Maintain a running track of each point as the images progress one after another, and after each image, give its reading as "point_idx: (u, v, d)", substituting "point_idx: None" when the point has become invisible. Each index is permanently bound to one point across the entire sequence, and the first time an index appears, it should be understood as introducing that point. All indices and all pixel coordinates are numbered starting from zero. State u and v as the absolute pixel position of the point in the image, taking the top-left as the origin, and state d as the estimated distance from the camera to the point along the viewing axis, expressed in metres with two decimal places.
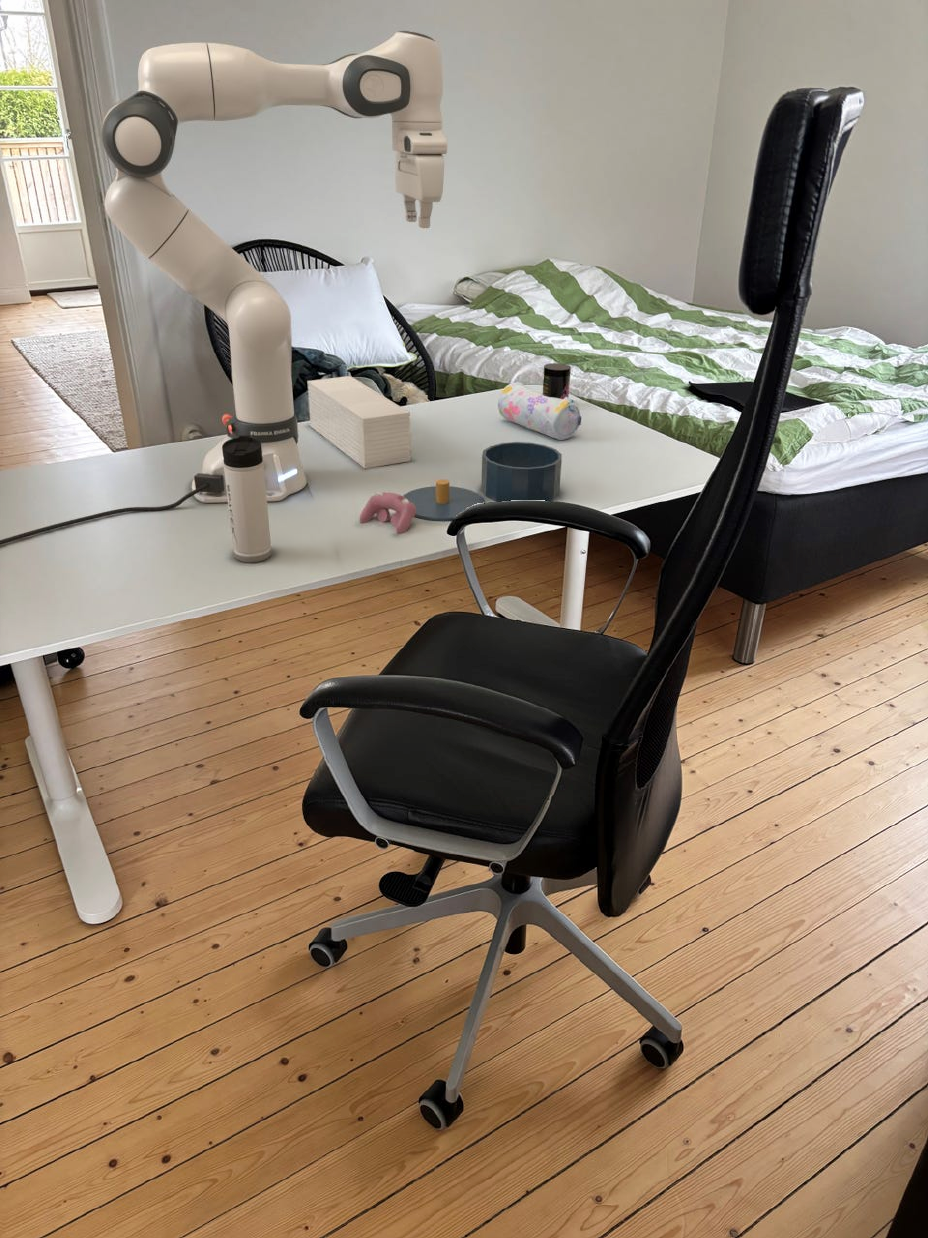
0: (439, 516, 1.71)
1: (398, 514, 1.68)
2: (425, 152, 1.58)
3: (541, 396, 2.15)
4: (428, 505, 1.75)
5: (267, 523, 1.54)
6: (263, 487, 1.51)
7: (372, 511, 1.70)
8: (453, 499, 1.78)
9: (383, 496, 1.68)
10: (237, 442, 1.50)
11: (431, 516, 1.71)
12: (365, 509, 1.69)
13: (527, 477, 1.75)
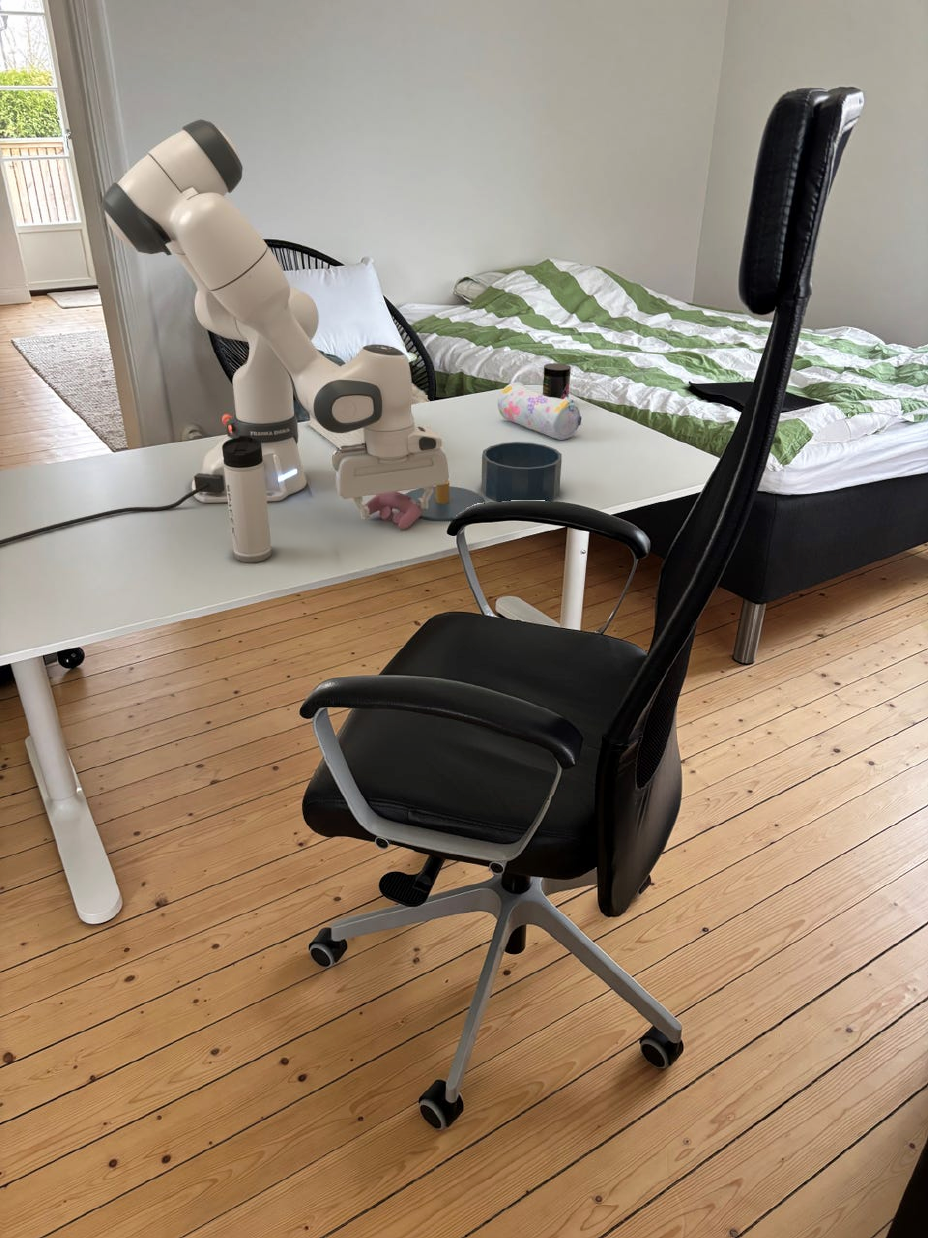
0: (439, 516, 1.71)
1: (402, 513, 1.69)
2: None
3: (541, 396, 2.15)
4: (428, 505, 1.75)
5: (267, 523, 1.54)
6: (263, 487, 1.51)
7: (376, 506, 1.70)
8: (453, 499, 1.78)
9: (392, 493, 1.69)
10: (237, 442, 1.50)
11: (431, 516, 1.71)
12: (370, 501, 1.69)
13: (527, 477, 1.75)
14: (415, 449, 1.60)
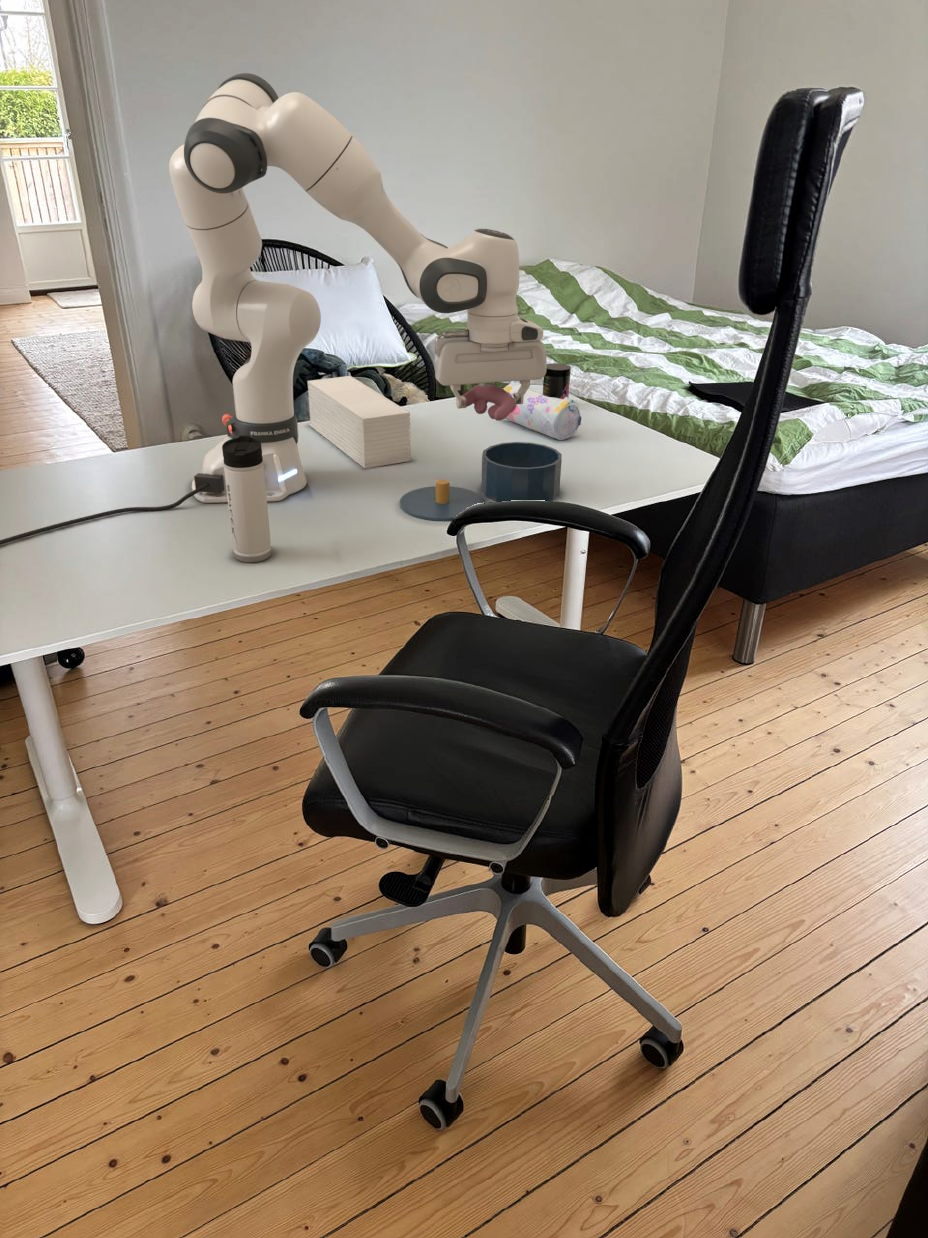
0: (439, 516, 1.71)
1: (497, 406, 1.70)
2: None
3: (541, 396, 2.15)
4: (428, 505, 1.75)
5: (267, 523, 1.54)
6: (263, 487, 1.51)
7: (472, 398, 1.72)
8: (453, 499, 1.78)
9: (488, 386, 1.71)
10: (237, 442, 1.50)
11: (431, 516, 1.71)
12: (466, 393, 1.71)
13: (527, 477, 1.75)
14: (517, 338, 1.62)
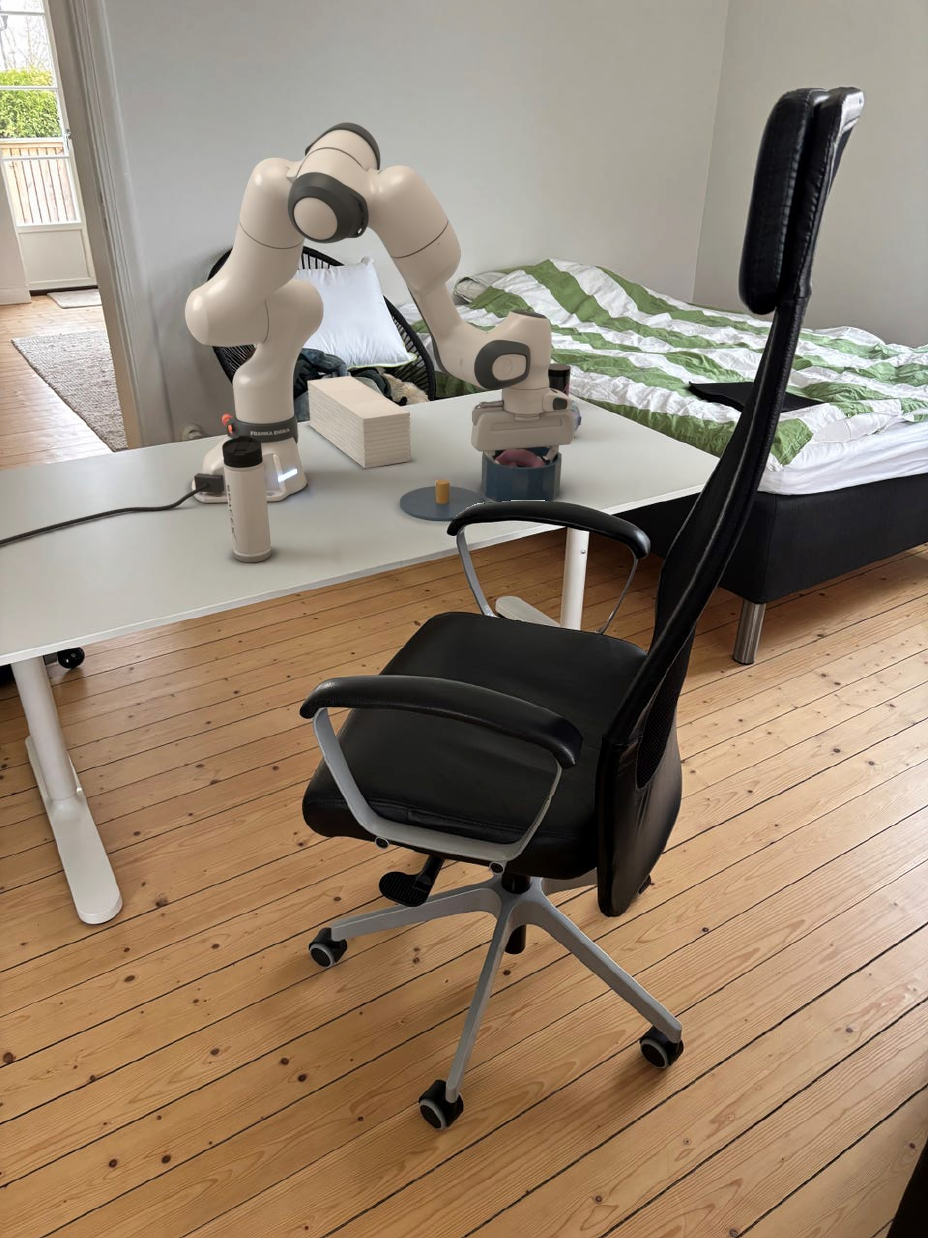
0: (439, 516, 1.71)
1: None
2: None
3: None
4: (428, 505, 1.75)
5: (267, 523, 1.54)
6: (263, 487, 1.51)
7: (504, 461, 1.83)
8: (453, 499, 1.78)
9: (519, 450, 1.82)
10: (237, 442, 1.50)
11: (431, 516, 1.71)
12: (499, 457, 1.82)
13: (527, 477, 1.75)
14: (549, 408, 1.74)
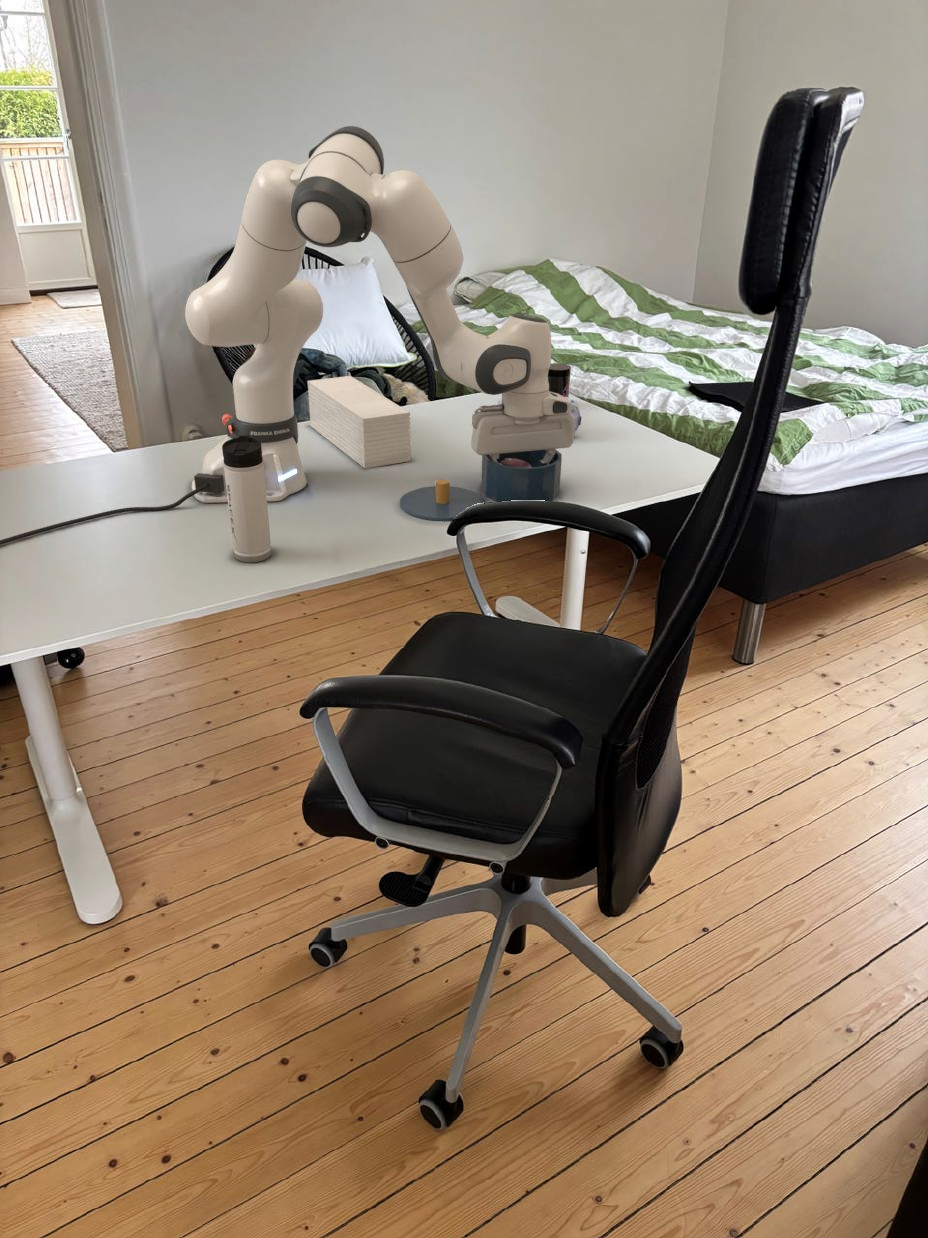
0: (439, 516, 1.71)
1: None
2: None
3: None
4: (428, 505, 1.75)
5: (267, 523, 1.54)
6: (263, 487, 1.51)
7: None
8: (453, 499, 1.78)
9: (510, 461, 1.84)
10: (237, 442, 1.50)
11: (431, 516, 1.71)
12: None
13: (527, 477, 1.75)
14: (549, 412, 1.74)
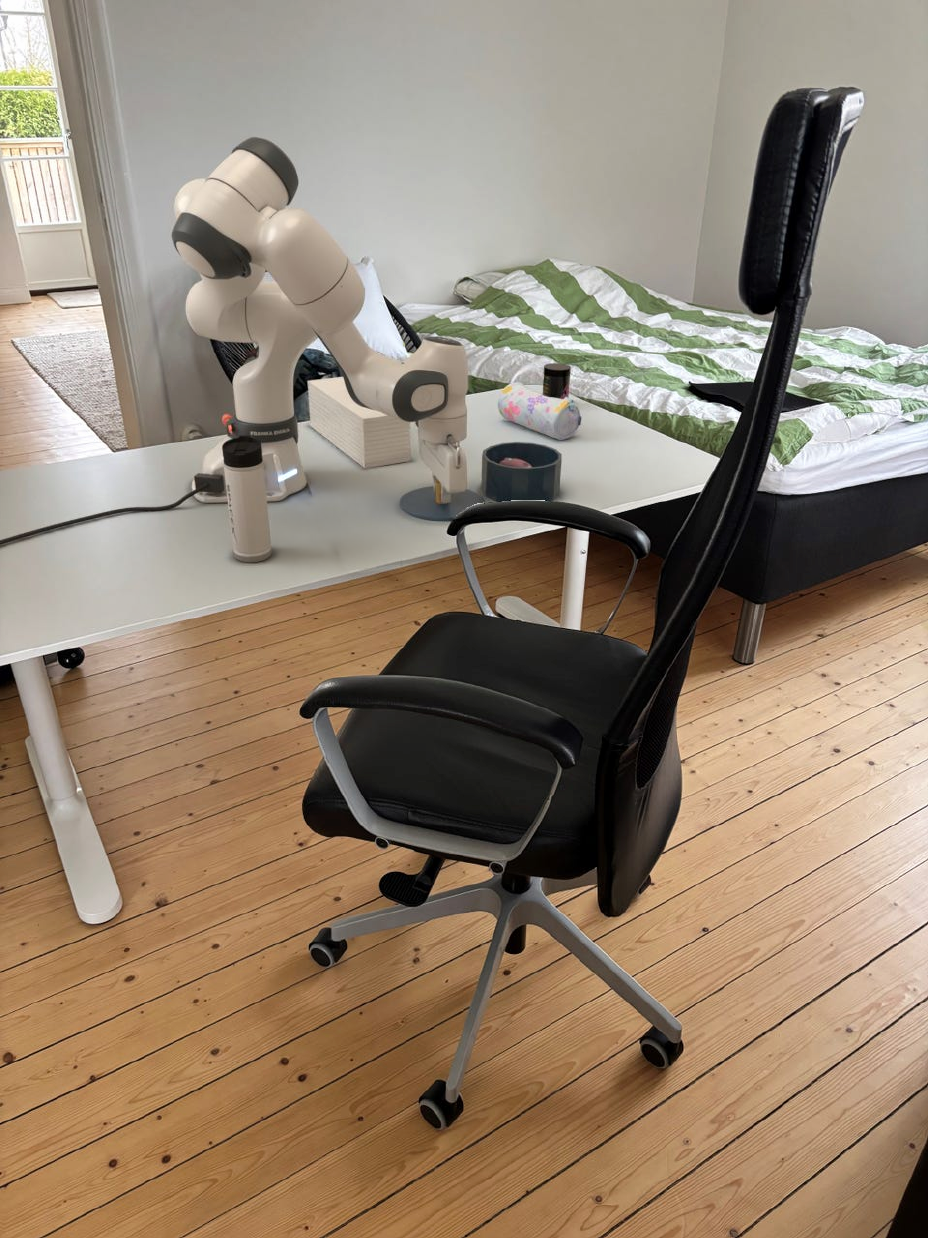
0: (439, 516, 1.71)
1: None
2: None
3: (541, 396, 2.15)
4: (428, 505, 1.75)
5: (267, 523, 1.54)
6: (263, 487, 1.51)
7: None
8: (453, 499, 1.78)
9: (510, 461, 1.84)
10: (237, 442, 1.50)
11: (431, 516, 1.71)
12: None
13: (527, 477, 1.75)
14: None
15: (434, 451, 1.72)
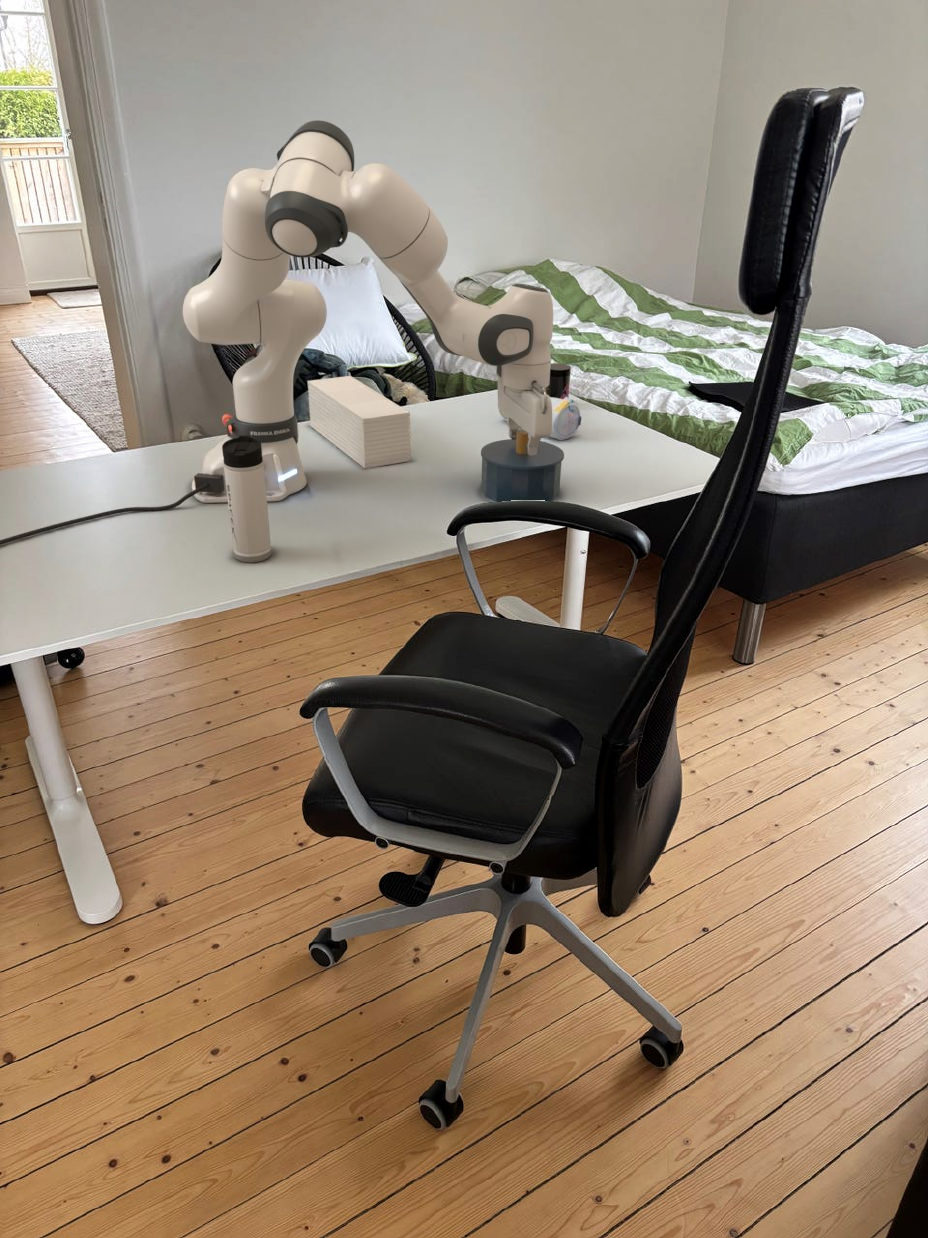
0: (522, 465, 1.74)
1: None
2: None
3: None
4: (509, 455, 1.79)
5: (267, 523, 1.54)
6: (263, 487, 1.51)
7: None
8: None
9: None
10: (237, 442, 1.50)
11: (514, 465, 1.74)
12: None
13: (527, 477, 1.75)
14: None
15: (517, 399, 1.75)
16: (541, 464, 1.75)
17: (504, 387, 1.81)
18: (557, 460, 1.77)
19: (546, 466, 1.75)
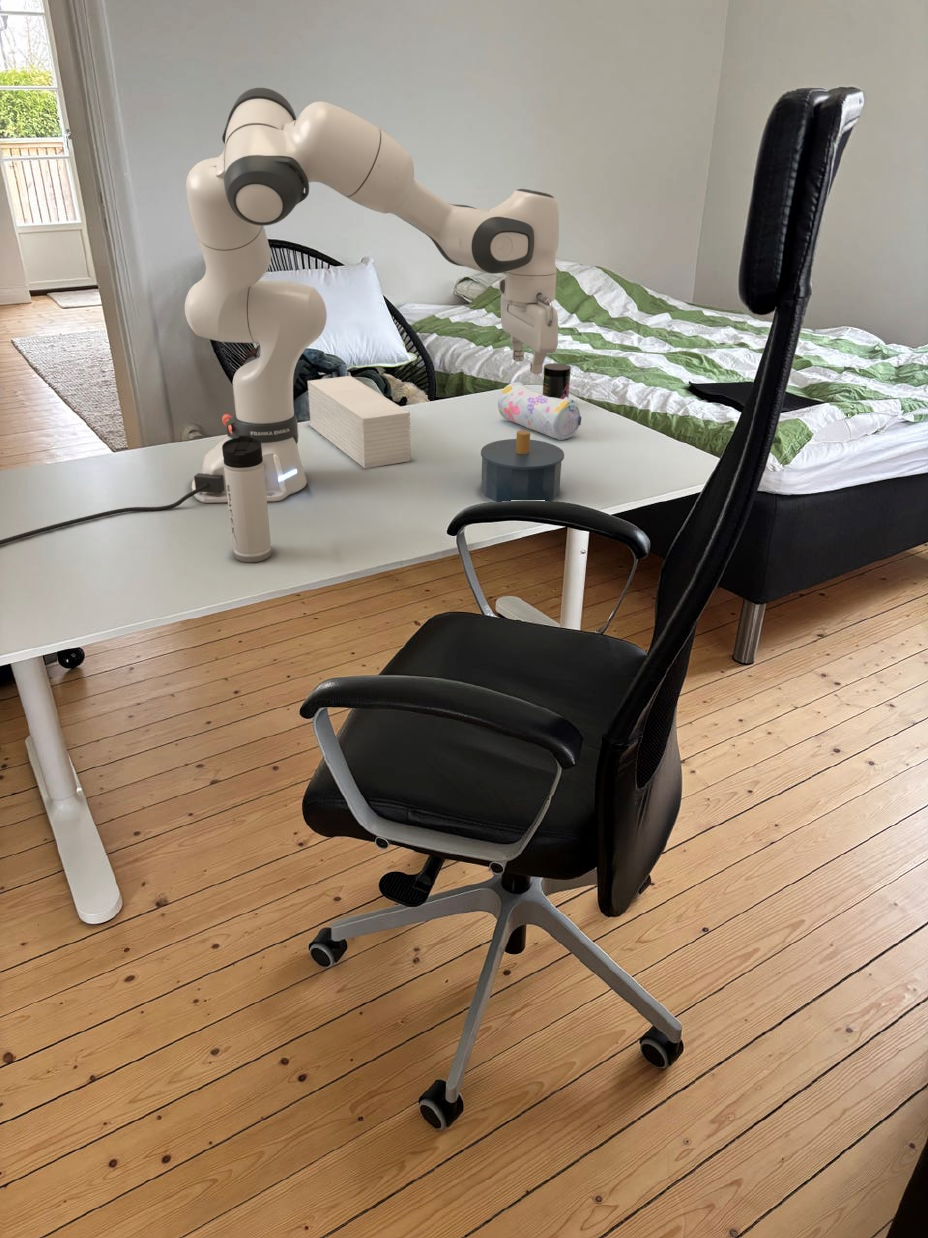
0: (522, 465, 1.74)
1: None
2: None
3: (541, 396, 2.15)
4: (509, 455, 1.79)
5: (267, 523, 1.54)
6: (263, 487, 1.51)
7: None
8: (533, 450, 1.81)
9: None
10: (237, 442, 1.50)
11: (514, 465, 1.74)
12: None
13: (527, 477, 1.75)
14: None
15: (521, 315, 1.68)
16: (541, 464, 1.75)
17: (507, 305, 1.73)
18: (557, 460, 1.77)
19: (546, 466, 1.75)
